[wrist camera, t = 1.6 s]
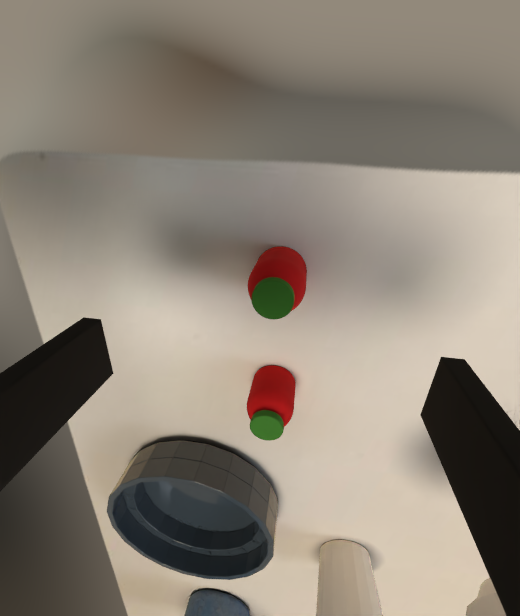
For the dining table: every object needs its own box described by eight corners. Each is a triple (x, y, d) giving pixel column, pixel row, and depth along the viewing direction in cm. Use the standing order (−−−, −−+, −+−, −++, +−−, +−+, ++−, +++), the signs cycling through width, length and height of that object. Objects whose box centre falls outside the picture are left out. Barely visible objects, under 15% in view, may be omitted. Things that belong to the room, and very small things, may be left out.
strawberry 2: (245, 375, 26) (231, 420, 21) (280, 358, 24) (273, 402, 20) (268, 403, 27) (260, 452, 22) (303, 389, 25) (301, 437, 21)
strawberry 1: (245, 263, 21) (228, 290, 17) (288, 235, 20) (281, 257, 16) (274, 303, 22) (264, 338, 18) (316, 278, 21) (317, 310, 17)
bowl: (102, 463, 35) (74, 502, 31) (212, 414, 28) (196, 455, 24) (195, 544, 40) (182, 587, 36) (308, 518, 33) (307, 566, 29)
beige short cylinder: (376, 571, 36) (390, 657, 30) (318, 567, 37) (320, 648, 31) (372, 537, 33) (386, 625, 27) (310, 535, 35) (310, 616, 28)
